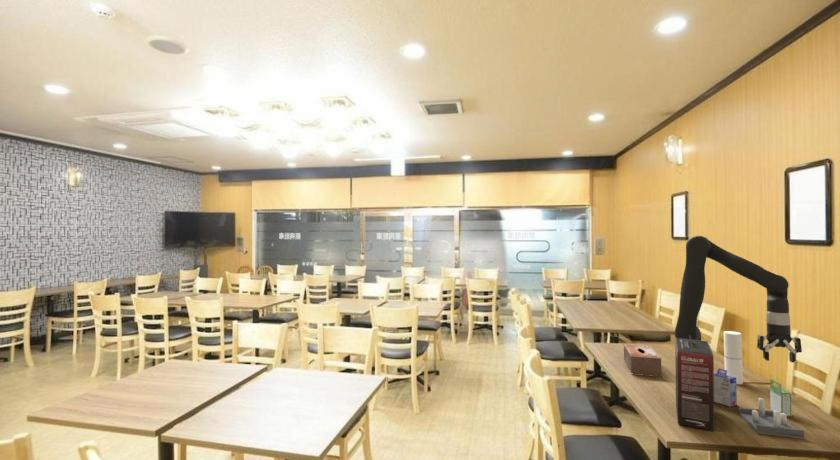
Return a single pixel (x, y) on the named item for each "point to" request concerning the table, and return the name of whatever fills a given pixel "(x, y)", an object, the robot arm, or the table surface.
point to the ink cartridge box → (725, 388)
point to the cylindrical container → (733, 355)
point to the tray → (769, 421)
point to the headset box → (694, 383)
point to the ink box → (780, 399)
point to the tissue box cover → (642, 360)
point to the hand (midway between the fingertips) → (779, 361)
